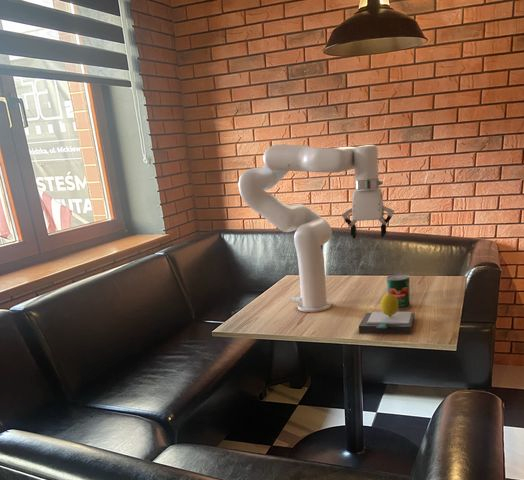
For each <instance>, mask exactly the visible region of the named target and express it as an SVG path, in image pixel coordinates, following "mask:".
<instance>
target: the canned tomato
mask: <svg viewBox="0 0 524 480" xmlns="http://www.w3.org/2000/svg"><path fill="white" fill-rule="evenodd" d="M388 293H391V294H393V295H394V296H396V298H397V300H398V310H397V311H402V310H407V309H409V308H410V307H411V301H410V296H411V295H410V294H411V293H410V275H408V274H401V273H399V274H398V273H397V274H390V275H387V276H386V294H388Z"/></svg>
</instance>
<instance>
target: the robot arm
mask: <svg viewBox="0 0 524 480" xmlns="http://www.w3.org/2000/svg"><path fill="white" fill-rule="evenodd" d="M378 153H379V151H378V147H377V145H376V144H365V145H359V146H340V147H328V148H327V147H325V148H324V147H323V148H320V147H310V146H309V145H307V144H295V145H293V144H286V143H285V144H274V145H271V146H269V147H267V148H266V149H265V151H264V153H263V156H262V159H263V160H262V161H263V163H264V165H263V166H258V167H252V168H249V169H246V170H245V171H243V172H242V173H241V175H240V176H239V178H238V191H239V194H240V197H241V199H242V201H243V202H244V203H245V204H246V205H247V206H248V207H249V208H250V209H252V210H253V211H254V212H256V213H257V214H258V215H260V216H262V217H263V218H264V219H265V220H266V221H268V223H271V225H273V226H275V227H276V228H277V229H278V230H280V231H281V232H283V233H290V232H294V231H295V232H294V235H293V242H294V247H295V251H296V256H297V264H298V277H299V287H300V295H299V296H291V297H290V302H291V303H292V304H298V305H297V309H298V310H299V311H300V312H304V313H316V312H318V313H319V312H323V311H327V310H328V309H330V308H332V303H331V301H329V300H328V299H327V285H326V284H327V283H326V270H325V269H326V268H325V258H324V253H323V251H322V246H323V245H325V244H326V243H328V242H329V241H330V240H331V238H332V235H333V231H332V227H331V225H330V224H329V222H328V221H327V220H326V219H325V218H323V217H322V216H320V215H319V214H317V213H316V212H315V211H313V210H312V209H311V208H310V207H308V206H306V205H304V204H302V203H300V202H299V203H298V202H295V203H290V204H288V203H285V202H283V201H282V200H281V199H279V198H278V196H277V197H276V196H275V195H274V194H271V193H269V192H268V190H271V189H272V188H274V187H275V186H276V185H277V184H279V182H281V180H282V179H283V178H284V177H285V176H286V175H287V174H288V173H289V172H306V173H308V172H309V173H310V172H311V173H328V174H329V173H330V174H331V173H332V174H334V173H336V174H337V173H342V172H347V171H350V170H354V188H355V189H354V190H353V193H352V199H351V202H352V203H351V208H349V209H348V210H346V211H345V212H343V213H342V214H341V217H342V218H343V220H344V222H345V223H346V225H348V226H349V228H350V236H351V237H352V239H356V238H357V225H356V223H357V222H363V221H379V223H380V224H381V225H380V237H381V238H384V237H385V235H387V224H388V223H389V222H390V220H392V217H393V216H394V213H395V210H394V209H392V208H389V207H387V206H385V205H384V197H383V191H382V188H381V187H380V186H381V185H383V184H384V180H381V179H379V157H378V155H379V154H378ZM385 212H386V213H387V214H388V215H387V217H386V218H385V217H384V215H385ZM350 214H351V218H352V220H351V219H350V218H349V215H350Z"/></svg>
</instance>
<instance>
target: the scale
mask: <svg viewBox="0 0 524 480" xmlns="http://www.w3.org/2000/svg"><path fill="white" fill-rule="evenodd" d="M415 320H416V313H415V312H413V311H397V312H396V313H395V314H394V315H392V316H391V317H389V316H388V315H385V314H384V313H383V312H382V311H372V312H365V314H364V316H363V318H362V319H361V321H360V323H359V324H358V334H372V335H373V334H374V335H378V334H381V335H411V334H412V331H413V328H414V324H415Z"/></svg>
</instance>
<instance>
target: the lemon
mask: <svg viewBox="0 0 524 480" xmlns="http://www.w3.org/2000/svg"><path fill="white" fill-rule="evenodd" d="M380 310H381V312H383V313H384V314H385V315H388V316H389V317H391V316H392V315H394V314H395V313H396V312H398V311H399V310H398V300H397V298H396V296H394V295H393V294H391V293H388V294H387V293H386V294H385V295H384V296H382V298H381V301H380Z"/></svg>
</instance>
